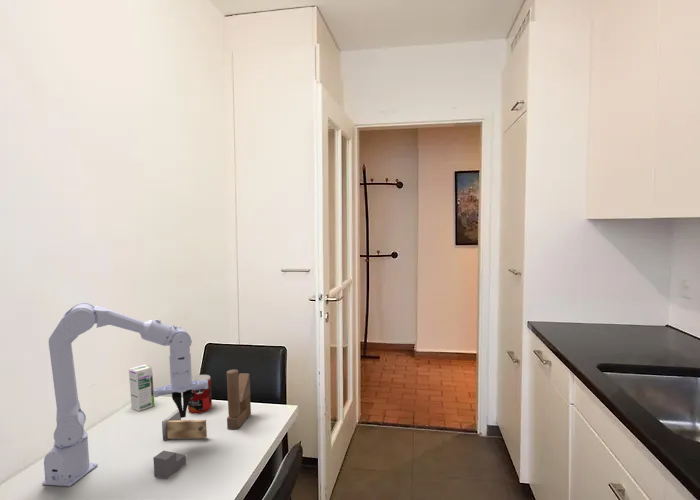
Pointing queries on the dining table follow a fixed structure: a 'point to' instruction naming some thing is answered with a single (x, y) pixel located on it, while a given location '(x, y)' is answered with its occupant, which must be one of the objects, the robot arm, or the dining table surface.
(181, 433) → the door
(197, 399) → the canned food
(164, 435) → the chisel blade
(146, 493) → the dining table surface
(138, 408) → the syrup box
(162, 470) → the gray stepped block
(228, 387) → the brown wooden stand
